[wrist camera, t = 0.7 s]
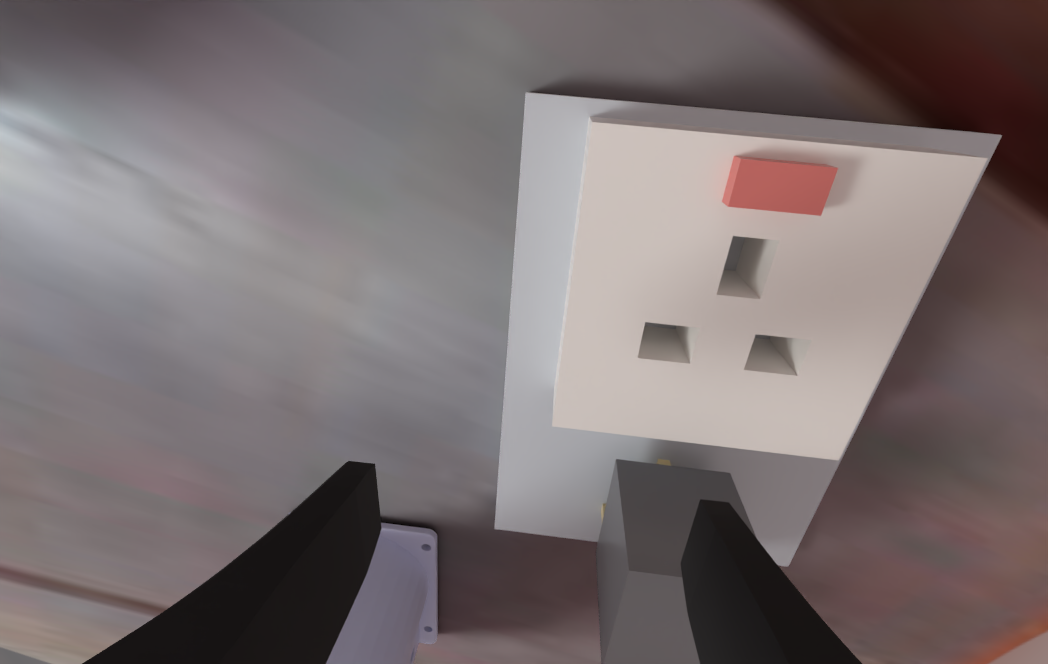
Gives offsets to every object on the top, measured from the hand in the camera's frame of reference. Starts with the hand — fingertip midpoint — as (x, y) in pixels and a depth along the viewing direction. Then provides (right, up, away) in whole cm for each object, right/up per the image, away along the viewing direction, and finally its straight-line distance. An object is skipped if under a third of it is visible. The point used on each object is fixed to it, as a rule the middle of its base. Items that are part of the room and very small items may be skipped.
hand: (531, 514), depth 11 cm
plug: (+6, -3, +11) cm, 13 cm away
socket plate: (+6, +6, +6) cm, 10 cm away
